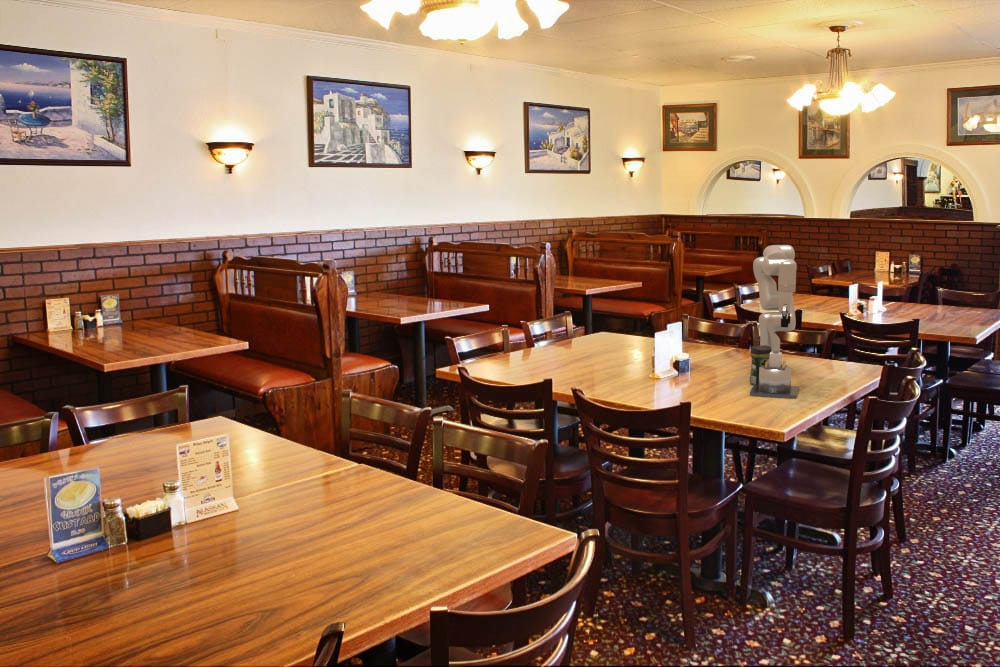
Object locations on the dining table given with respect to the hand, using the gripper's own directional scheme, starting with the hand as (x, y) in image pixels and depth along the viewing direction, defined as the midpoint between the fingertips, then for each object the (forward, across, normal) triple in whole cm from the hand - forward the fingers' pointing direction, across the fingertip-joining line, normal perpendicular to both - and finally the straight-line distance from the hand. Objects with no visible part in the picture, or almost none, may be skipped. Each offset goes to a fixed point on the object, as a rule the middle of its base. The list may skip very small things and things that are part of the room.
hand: (785, 325), depth 404 cm
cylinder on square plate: (+30, +10, -3) cm, 31 cm away
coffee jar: (+31, -7, -11) cm, 33 cm away
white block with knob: (+17, +9, -3) cm, 20 cm away
